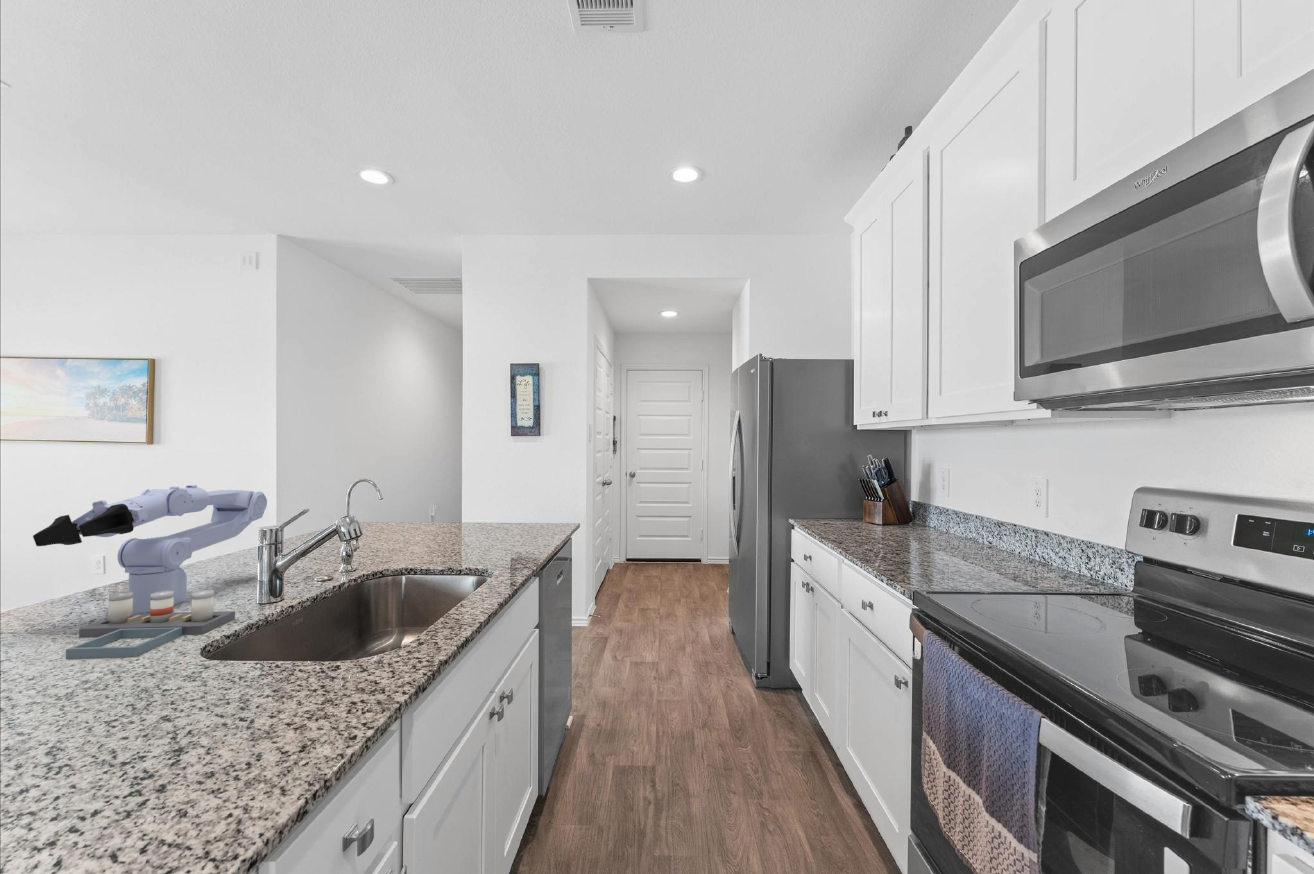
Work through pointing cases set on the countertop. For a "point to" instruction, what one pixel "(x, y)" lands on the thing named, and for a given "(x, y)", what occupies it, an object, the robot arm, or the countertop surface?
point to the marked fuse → (161, 606)
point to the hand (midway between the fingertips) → (59, 535)
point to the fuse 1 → (120, 607)
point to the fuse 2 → (202, 606)
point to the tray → (96, 651)
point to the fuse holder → (160, 624)
